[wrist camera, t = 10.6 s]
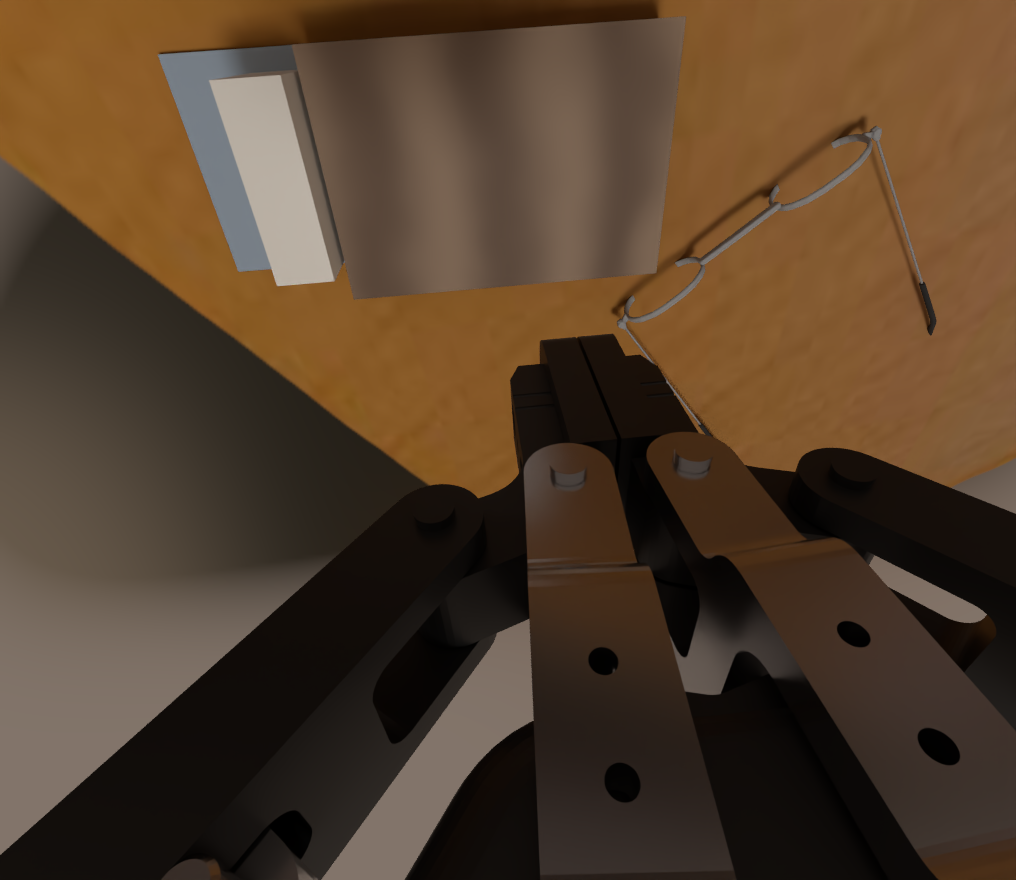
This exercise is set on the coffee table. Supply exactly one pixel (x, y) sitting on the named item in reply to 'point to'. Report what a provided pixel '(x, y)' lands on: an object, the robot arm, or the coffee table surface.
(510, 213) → the brown flat block
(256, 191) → the cream rectangular block
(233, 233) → the mat
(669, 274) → the coffee table surface
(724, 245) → the eyeglasses
